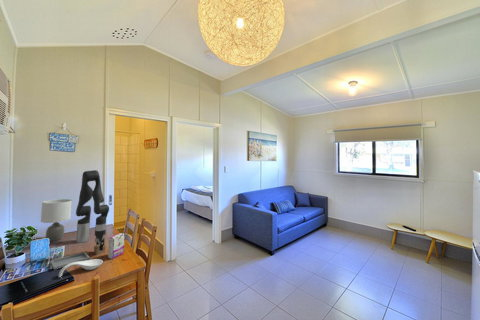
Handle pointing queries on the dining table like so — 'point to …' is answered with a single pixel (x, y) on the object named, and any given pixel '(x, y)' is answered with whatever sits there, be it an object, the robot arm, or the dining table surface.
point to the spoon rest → (83, 265)
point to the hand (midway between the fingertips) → (99, 248)
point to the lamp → (55, 216)
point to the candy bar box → (116, 245)
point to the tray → (69, 260)
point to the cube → (96, 249)
